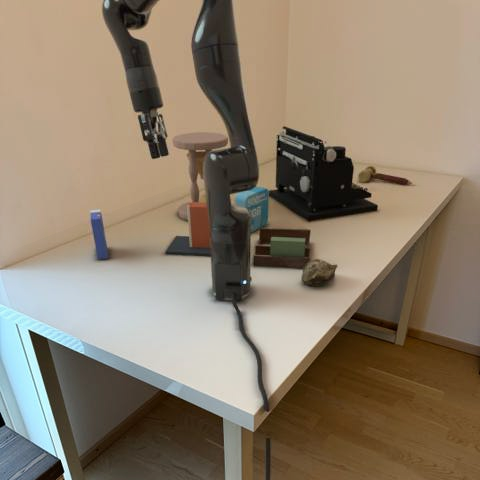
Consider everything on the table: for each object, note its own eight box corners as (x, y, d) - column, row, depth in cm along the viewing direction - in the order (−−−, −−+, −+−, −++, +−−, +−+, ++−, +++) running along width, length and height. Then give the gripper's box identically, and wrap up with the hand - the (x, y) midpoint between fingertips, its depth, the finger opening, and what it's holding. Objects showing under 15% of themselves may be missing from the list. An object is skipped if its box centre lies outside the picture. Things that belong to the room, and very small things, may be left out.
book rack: (308, 268, 123) (309, 253, 121) (253, 266, 125) (253, 250, 122) (309, 244, 137) (310, 229, 135) (259, 241, 139) (259, 227, 137)
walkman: (108, 258, 130) (101, 217, 123) (97, 260, 129) (90, 218, 123) (107, 248, 136) (100, 208, 130) (97, 249, 135) (90, 208, 129)
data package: (246, 235, 143) (245, 196, 137) (234, 232, 146) (234, 194, 139) (268, 224, 151) (269, 187, 145) (257, 221, 154) (257, 185, 147)
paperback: (303, 266, 124) (305, 241, 121) (270, 264, 125) (270, 240, 122) (303, 262, 126) (305, 238, 123) (270, 260, 127) (271, 236, 124)
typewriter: (377, 210, 161) (388, 134, 148) (308, 221, 153) (313, 141, 140) (330, 187, 186) (336, 120, 173) (268, 195, 178) (270, 125, 164)
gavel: (416, 174, 189) (410, 180, 181) (413, 185, 191) (407, 192, 184) (366, 164, 197) (359, 170, 190) (364, 175, 200) (357, 181, 192)
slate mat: (235, 257, 130) (235, 254, 129) (165, 254, 132) (165, 251, 132) (240, 241, 140) (240, 238, 139) (176, 238, 142) (175, 235, 142)
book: (224, 248, 133) (223, 207, 126) (189, 247, 134) (186, 206, 128) (226, 243, 136) (225, 203, 130) (193, 241, 137) (190, 201, 131)
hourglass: (198, 202, 171) (194, 130, 158) (238, 210, 163) (238, 135, 150) (168, 216, 158) (160, 139, 145) (210, 225, 151) (207, 145, 137)
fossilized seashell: (315, 285, 110) (346, 281, 115) (311, 257, 110) (342, 254, 115) (296, 289, 116) (326, 285, 121) (291, 263, 116) (322, 260, 121)
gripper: (138, 94, 122) (154, 158, 128) (120, 90, 109) (138, 162, 115) (165, 88, 121) (180, 152, 127) (150, 83, 108) (167, 156, 114)
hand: (160, 157), depth 121 cm, fingers open, 8 cm apart
